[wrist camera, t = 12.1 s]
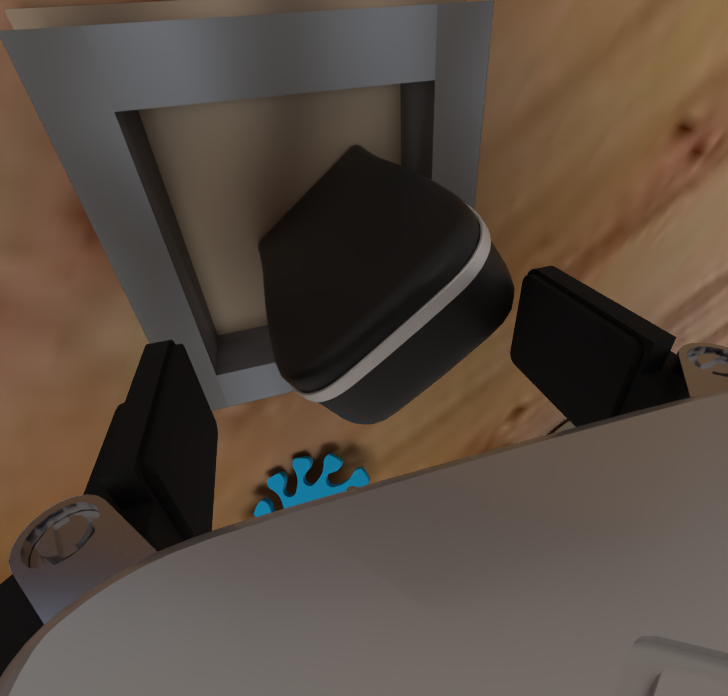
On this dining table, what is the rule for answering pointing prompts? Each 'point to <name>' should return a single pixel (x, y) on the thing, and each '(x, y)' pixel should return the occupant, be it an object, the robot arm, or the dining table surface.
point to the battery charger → (378, 287)
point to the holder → (240, 139)
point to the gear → (307, 489)
